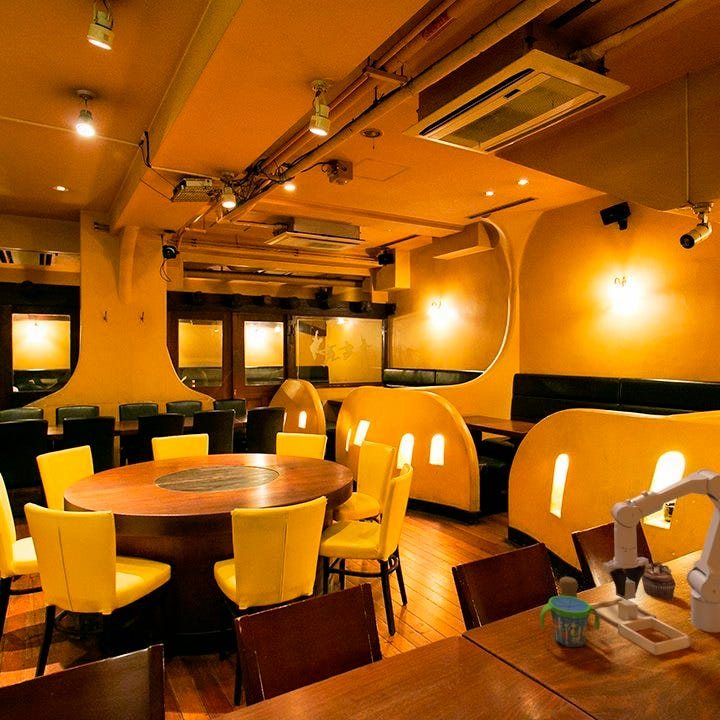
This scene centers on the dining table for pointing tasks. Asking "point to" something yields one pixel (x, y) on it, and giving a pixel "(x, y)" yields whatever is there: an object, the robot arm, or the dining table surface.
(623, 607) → the beige cuboid
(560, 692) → the dining table surface
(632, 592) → the grey rectangular prism
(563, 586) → the cork
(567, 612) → the snack cup
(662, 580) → the cupcake
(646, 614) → the beech tray
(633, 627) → the pale wooden open box
